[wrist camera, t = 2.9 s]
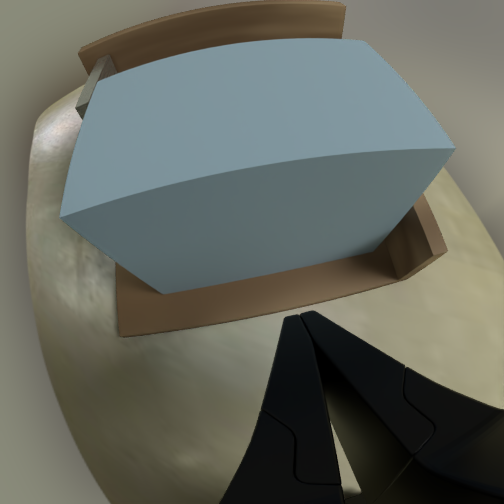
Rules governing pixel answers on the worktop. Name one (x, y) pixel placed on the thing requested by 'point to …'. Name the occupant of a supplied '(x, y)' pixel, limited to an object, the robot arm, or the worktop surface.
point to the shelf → (277, 284)
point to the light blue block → (249, 160)
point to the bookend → (95, 82)
